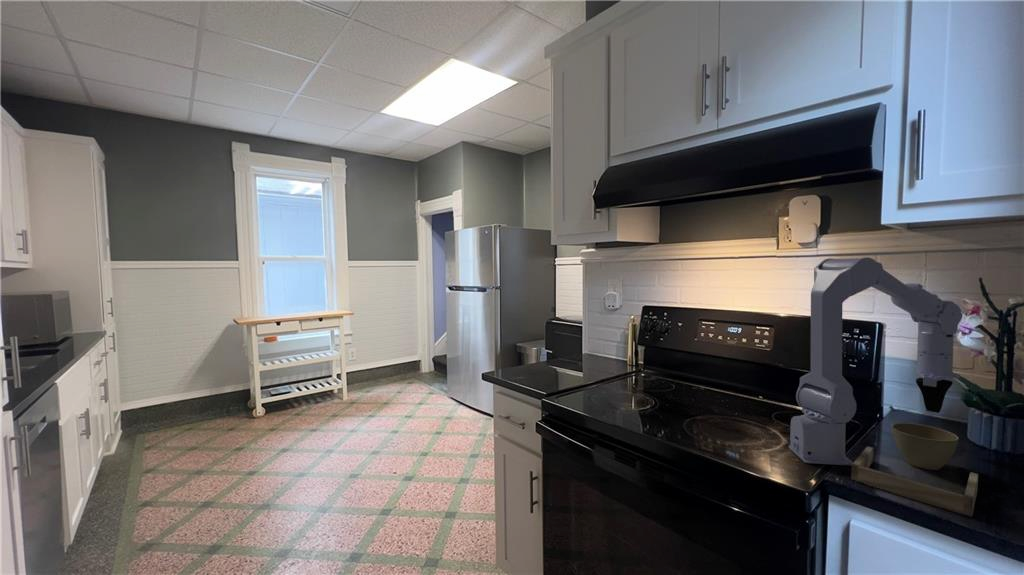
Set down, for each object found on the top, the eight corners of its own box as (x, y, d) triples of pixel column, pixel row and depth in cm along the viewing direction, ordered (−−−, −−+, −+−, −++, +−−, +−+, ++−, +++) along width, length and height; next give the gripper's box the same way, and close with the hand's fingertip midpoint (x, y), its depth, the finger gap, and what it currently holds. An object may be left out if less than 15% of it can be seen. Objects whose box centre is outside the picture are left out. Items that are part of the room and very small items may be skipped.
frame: (972, 517, 70) (972, 499, 69) (851, 480, 82) (851, 465, 82) (977, 489, 78) (978, 473, 78) (867, 459, 90) (867, 446, 90)
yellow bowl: (972, 478, 82) (973, 442, 82) (912, 474, 84) (913, 439, 84) (932, 455, 92) (933, 423, 91) (879, 452, 94) (880, 421, 93)
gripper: (957, 360, 87) (955, 424, 88) (963, 350, 96) (961, 408, 97) (910, 355, 93) (909, 415, 93) (921, 346, 102) (919, 401, 102)
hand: (933, 411), depth 96 cm, fingers closed
